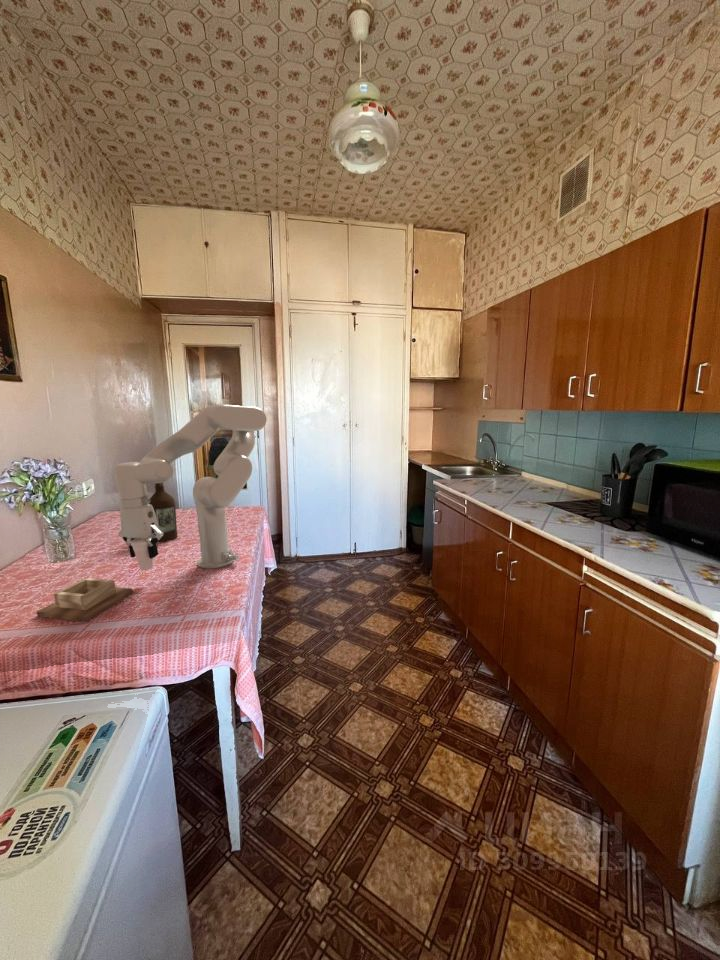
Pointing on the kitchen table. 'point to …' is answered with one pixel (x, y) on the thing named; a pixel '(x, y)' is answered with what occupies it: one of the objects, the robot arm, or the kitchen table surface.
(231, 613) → the kitchen table surface
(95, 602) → the wooden open box
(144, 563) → the smoothie
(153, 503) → the olive oil
